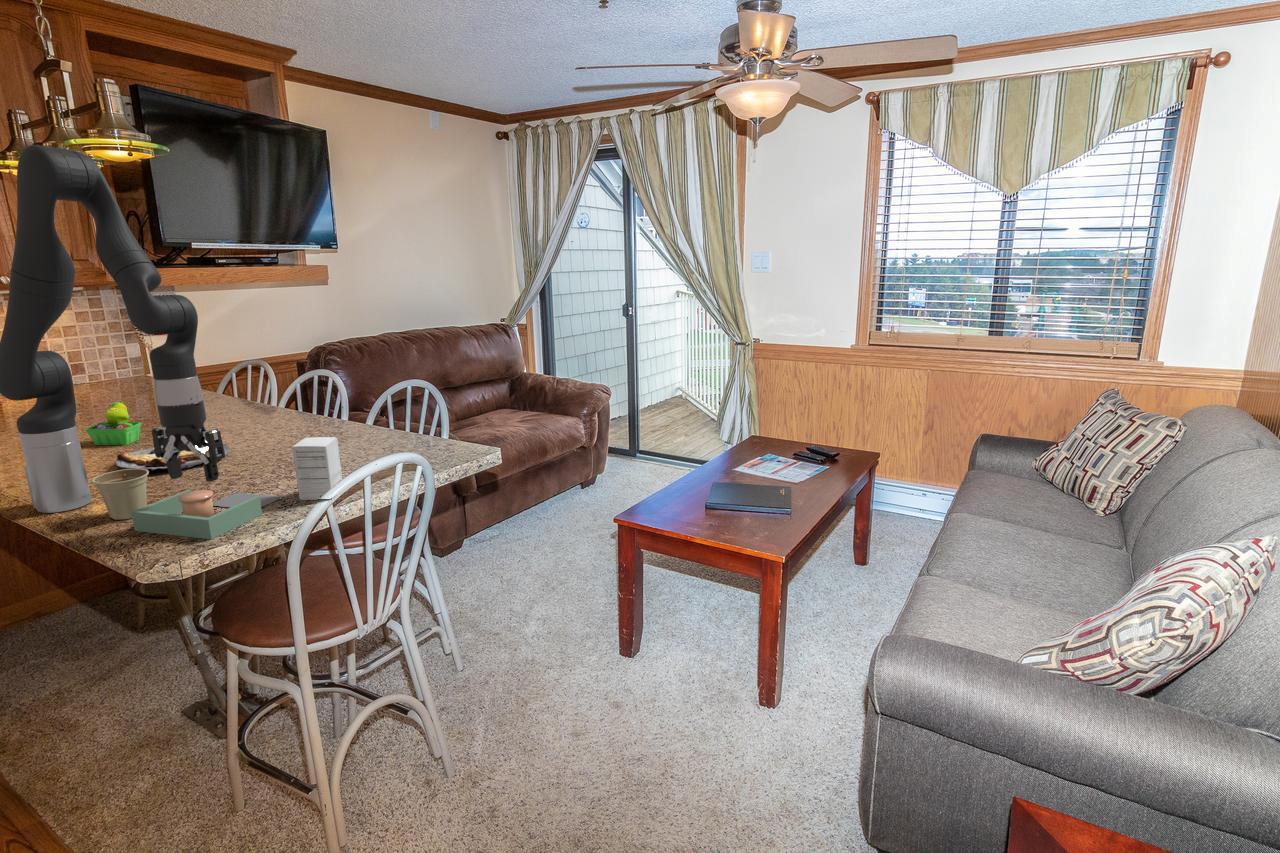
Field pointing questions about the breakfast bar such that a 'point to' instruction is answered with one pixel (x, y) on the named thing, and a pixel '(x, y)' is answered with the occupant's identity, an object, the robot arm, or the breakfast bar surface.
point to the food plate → (157, 459)
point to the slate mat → (244, 499)
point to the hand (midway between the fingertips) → (194, 479)
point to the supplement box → (316, 466)
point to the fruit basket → (115, 428)
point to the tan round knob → (197, 503)
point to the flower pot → (123, 491)
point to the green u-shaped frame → (192, 518)
